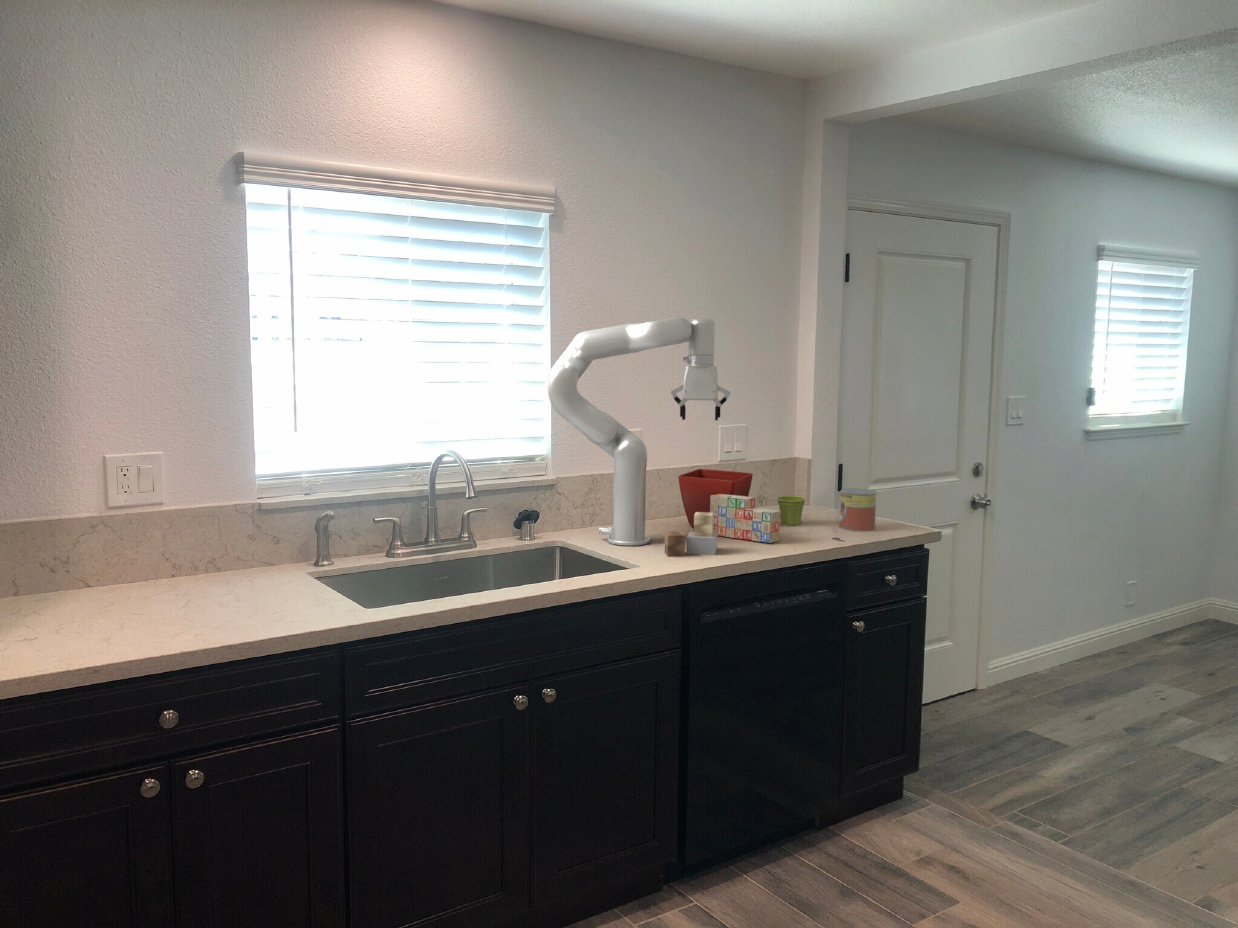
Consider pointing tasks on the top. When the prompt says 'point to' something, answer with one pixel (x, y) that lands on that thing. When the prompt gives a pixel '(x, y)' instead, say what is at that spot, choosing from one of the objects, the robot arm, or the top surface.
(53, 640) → the top surface
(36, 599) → the top surface
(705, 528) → the maple cube
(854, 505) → the canned food
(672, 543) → the walnut cube
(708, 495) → the plant pot
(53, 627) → the top surface
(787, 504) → the plant pot
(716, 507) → the stack of blocks
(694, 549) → the stone block
